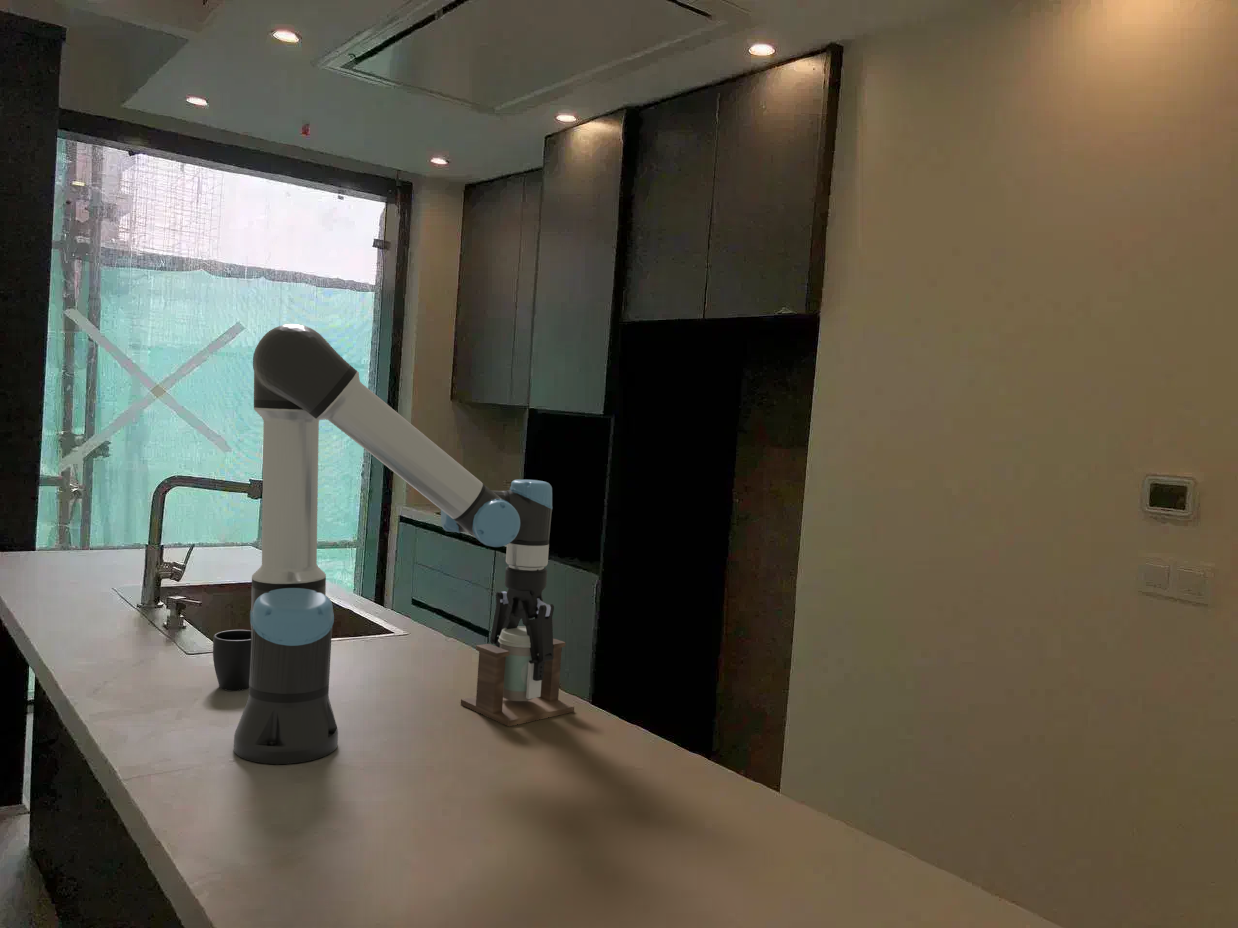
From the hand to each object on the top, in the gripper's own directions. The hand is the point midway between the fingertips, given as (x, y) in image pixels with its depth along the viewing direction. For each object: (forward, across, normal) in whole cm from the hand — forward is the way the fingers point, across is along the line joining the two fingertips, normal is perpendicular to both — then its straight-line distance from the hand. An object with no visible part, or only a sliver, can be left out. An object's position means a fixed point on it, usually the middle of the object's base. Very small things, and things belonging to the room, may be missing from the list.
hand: (518, 690), depth 176 cm
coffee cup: (+1, 0, 0) cm, 1 cm away
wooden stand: (+3, 0, 0) cm, 3 cm away
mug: (+4, +37, +34) cm, 50 cm away
